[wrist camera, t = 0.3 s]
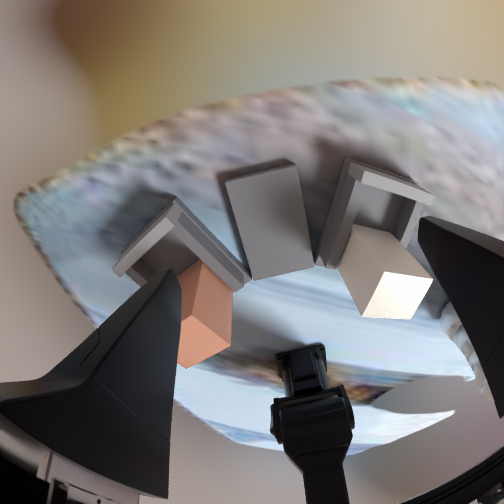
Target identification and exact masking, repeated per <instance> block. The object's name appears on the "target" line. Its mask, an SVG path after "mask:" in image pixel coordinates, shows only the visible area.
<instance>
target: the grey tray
mask: <svg viewBox="0 0 504 504" xmlns="http://www.w3.org/2000/svg"><path fill="white" fill-rule="evenodd" d="M225 185H226V188H227V192H228V195H229V199H230V202H231V206H232V209H233V212H234V216H235V219H236V223H237V226H238V229H239V233H240V236H241V240H242V243H243V246H244V250H245V253H246V256H247V260H248V263H249V267H250V270H251V273H252V274H251V273H250V272H249V271H248V270H247V269H246V267H245V266H244V265H243V264H242V263H241V262H240V261H239V260H238V259H237V258H236V257H235V256H234V255H233V254H232V253H231V252H230V251H229V250H228V249H227V248H226V247H225V246H224V245H223V244H222V243H221V242H220V241H219V240H218V239H217V238H216V237H215V236H214V235H213V234H212V233H211V232H210V231H209V230H208V229H207V228H206V227H205V225H204V224H203V223H202V222H201V221H200V220H199V219H198V218H197V217H196V216H195V215H194V214H193V213H192V212H191V211H190V210H189V209H188V208H187V207H186V206H185V205H184V204H183V203H182V202H181V201H180V199H179V198H178V197H176V198H175V199H174V200H173V201H172V202H170V203H169V204H168V205H167V206H166V207H165V208H164V209H163V210H162V211H161V212H160V213H159V214H158V215H157V216H156V217H155V218H154V219H152V220H151V221H150V222H149V223H148V224H147V225H146V226H145V227H144V228H143V229H142V230H141V231H140V232H139V233H138V234H137V235H136V236H135V237H134V238H133V239H132V240H131V241H130V242H129V243H128V244H127V245H126V246H125V248H124V249H123V250H122V252H121V254H122V256H121V257H120V259H119V260H118V262H117V263H116V264H115V266H114V267H113V269H112V270H113V271H114V272H115V273H116V274H117V275H118V276H119V277H121V276H122V275H123V274H124V273H126V274H127V275H128V276H130V277H131V278H132V279H133V280H134V281H135V282H136V283H137V284H139V285H140V286H141V287H142V286H143V285H144V284H145V283H146V282H147V281H149V280H150V279H151V278H152V277H153V276H154V275H155V274H156V273H158V272H159V271H160V270H162V269H166V268H172V269H173V270H174V272H175V274H176V277H177V276H178V275H180V274H181V273H182V272H184V271H185V270H186V269H187V268H189V267H190V266H191V265H193V264H194V263H195V262H196V261H198V260H199V259H201V260H202V261H203V262H204V263H205V264H206V265H207V266H208V267H209V268H210V269H211V270H212V271H213V272H214V273H215V274H217V275H218V276H219V277H220V278H221V279H222V280H223V281H224V282H225V283H226V284H227V285H228V286H229V287H230V288H231V289H232V290H233V292H234V291H235V292H236V291H238V290H239V289H241V288H242V287H244V284H246V283H247V282H249V281H250V280H252V277H253V280H259V279H264V278H268V277H273V276H277V275H282V274H286V273H290V272H295V271H299V270H303V269H308V268H312V267H314V263H315V265H318V266H325V268H329V269H336V268H337V265H338V262H339V259H340V257H341V254H342V252H343V249H344V246H345V244H346V241H347V238H348V236H349V233H350V230H351V228H352V225H353V224H356V225H360V226H365V227H369V228H373V229H378V230H382V231H386V232H390V233H391V234H392V235H393V236H394V237H395V238H396V239H397V240H398V241H399V242H400V243H401V244H402V245H403V246H404V247H405V248H407V245H408V243H409V241H410V238H411V236H412V234H413V231H414V229H415V226H416V224H417V221H418V219H419V216H420V214H421V211H422V209H423V206H424V204H427V205H429V206H431V204H432V201H433V199H434V195H433V194H431V193H429V192H428V191H426V190H424V189H423V188H421V187H419V183H417V182H415V181H413V180H411V179H408V178H405V177H403V176H400V175H397V174H394V173H392V172H389V171H386V170H383V169H380V168H377V167H374V166H371V165H368V164H365V163H362V162H359V161H356V160H353V159H349V158H346V157H345V160H344V163H343V167H342V170H341V174H340V177H339V180H338V184H337V187H336V191H335V194H334V197H333V200H332V204H331V207H330V210H329V213H328V216H327V219H326V222H325V226H324V229H323V232H322V235H321V238H320V241H319V244H318V247H317V249H316V252H315V255H314V258H313V256H312V249H311V243H310V237H309V230H308V224H307V218H306V213H305V207H304V201H303V196H302V191H301V185H300V180H299V175H298V170H297V166H296V165H295V163H294V164H290V165H285V166H280V167H276V168H271V169H267V170H262V171H258V172H254V173H250V174H246V175H242V176H238V177H234V178H230V179H226V180H225ZM313 261H314V263H313Z"/></svg>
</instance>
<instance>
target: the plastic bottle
mask: <svg viewBox="0 0 504 504" xmlns="http://www.w3.org/2000/svg"><path fill="white" fill-rule="evenodd" d="M440 324H441V327H442V329H443V332H444V333H445V334H446V335H447V336H448V337H449V339H451V340H452V341H453V342H454V343H455V344H456V345H457V347H458V348H459V349H460V350H461V352H462V353H463V354H464V356H465V357H466V359H467V361H468V362H469V364H470V366H471V368H472V370H473V372H474V375H475V377H476V380H477V383H478V385H479V388H480V391H481V393H482V395H483V396H484V397H485V398H486V399H488V400H490V401H492V402H494V400H493V397H492V394H491V391H490V388H489V385H488V383H487V380H486V377H485V375H484V372H483V370H482V367H481V364H480V362H479V360H478V357H477V355H476V353H475V351H474V348H473V346H472V344H471V342H470V340H469V337H468V335H467V333H466V331H465V329H464V327H463V325H462V323H461V321H460V319H459V317H458V315H457V313H456V312H455V310H454V308H453V306H452V304H451V302H449V303H448V304H447V305H446V306H445V307H444V309H443V311H442V313H441V316H440Z"/></svg>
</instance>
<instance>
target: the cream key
mask: <svg viewBox="0 0 504 504" xmlns="http://www.w3.org/2000/svg"><path fill="white" fill-rule="evenodd" d="M337 268H338V270H339V272H340V274H341V276H342V278H343V280H344V282H345V284H346V286H347V288H348V290H349V292H350V294H351V296H352V298H353V300H354V302H355V304H356V306H357V308H358V310H359V312H360V314H361V317H375V318H393V319H411V317H412V316H413V314H414V312H415V311H416V309H417V307H418V306H419V304H420V302H421V301H422V299H423V297H424V295H425V294H426V292H427V290H428V288H429V287H430V285H431V283H432V281H433V278H432V277H431V276H430V275H429V274H428V273H427V271H426V270H425V269H424V268H423V267H422V266H421V265H420V264H419V262H418V261H417V260H416V259H415V258H414V257H413V256H412V255H411V254H410V253H409V251H408V250H407V249H406V248H405V247H404V246H403V245H402V244H401V243H400V242H399V241H398V240H397V239H396V238H395V237H394V236H393V235H392V234H391V233H390V232H386V231H382V230H378V229H373V228H369V227H365V226H360V225H356V224H353V225H352V228H351V230H350V233H349V236H348V238H347V241H346V244H345V246H344V249H343V252H342V254H341V257H340V259H339V262H338V265H337Z"/></svg>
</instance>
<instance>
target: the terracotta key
mask: <svg viewBox="0 0 504 504" xmlns="http://www.w3.org/2000/svg"><path fill="white" fill-rule="evenodd" d="M177 279H178V281H179V283H180V286H181V289H182V309H181V333H180V341H179V350H178V358H177V363H178V364H180V365H181V366H183V367H184V368H186V369H187V368H189V367H191V366H193V365H195V364H197V363H199V362H201V361H203V360H205V359H207V358H209V357H211V356H212V355H214V354H216V353H218V352H220V351H222V350H224V349H226V348H228V347H229V346H231V331H232V302H233V290H232V289H231V288H230V287H229V286H228V285H227V284H226V283H225V282H224V281H223V280H222V279H221V278H220V277H219V276H218V275H217V274H215V273H214V272H213V271H212V270H211V269H210V268H209V267H208V266H207V265H206V264H205V263H204V262H203V261H202V260H201V259H199V260H198V261H196V262H195V263H194V264H193V265H191V266H190V267H189V268H187V269H186V270H185V271H184V272H182V273H181V274H180V275H178V276H177Z"/></svg>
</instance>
